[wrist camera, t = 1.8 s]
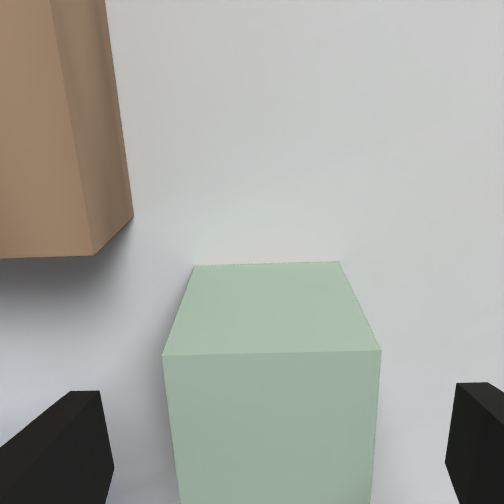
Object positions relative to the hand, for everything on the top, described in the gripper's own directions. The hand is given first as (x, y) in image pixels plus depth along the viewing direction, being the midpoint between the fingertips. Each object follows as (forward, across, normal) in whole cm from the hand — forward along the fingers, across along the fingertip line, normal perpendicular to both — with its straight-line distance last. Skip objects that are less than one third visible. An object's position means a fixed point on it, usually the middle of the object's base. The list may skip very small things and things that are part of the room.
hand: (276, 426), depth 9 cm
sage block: (+4, 0, 0) cm, 4 cm away
